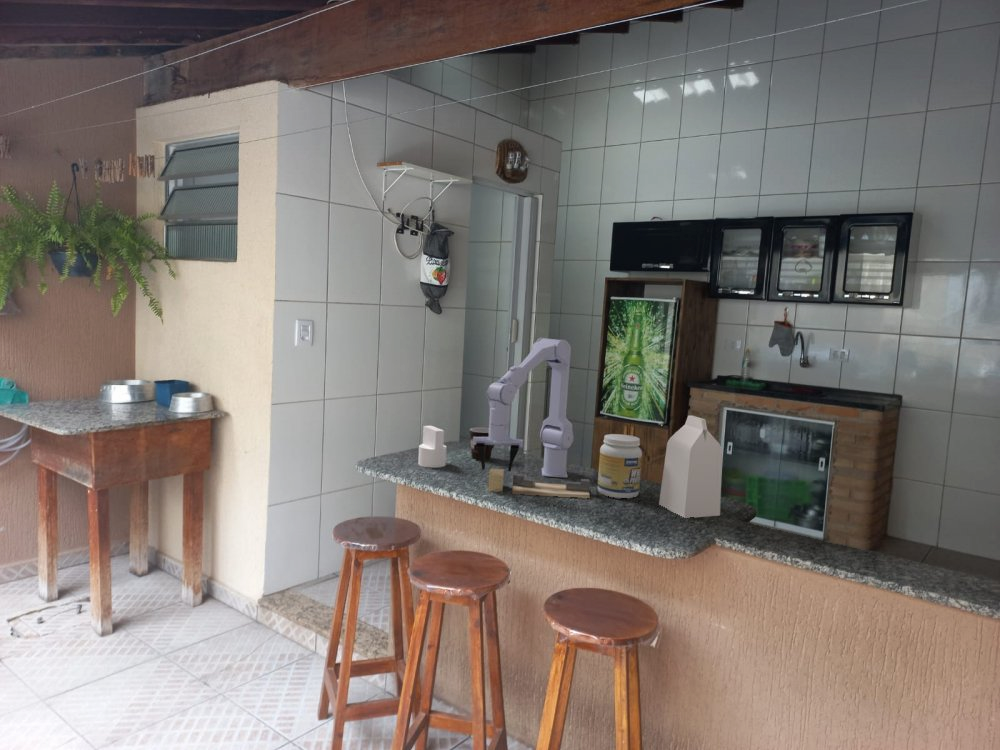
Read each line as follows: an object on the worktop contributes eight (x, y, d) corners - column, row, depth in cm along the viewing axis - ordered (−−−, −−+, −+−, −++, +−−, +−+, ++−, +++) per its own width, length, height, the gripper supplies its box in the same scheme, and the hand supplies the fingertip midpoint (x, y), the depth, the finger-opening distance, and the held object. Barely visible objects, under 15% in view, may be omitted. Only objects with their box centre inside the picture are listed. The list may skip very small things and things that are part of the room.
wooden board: (513, 484, 208) (513, 481, 208) (586, 488, 208) (586, 485, 207) (512, 494, 198) (512, 490, 198) (589, 498, 198) (589, 495, 198)
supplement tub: (629, 502, 196) (633, 443, 194) (590, 494, 202) (594, 437, 200) (645, 493, 206) (649, 437, 204) (607, 485, 213) (610, 431, 211)
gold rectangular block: (488, 491, 200) (489, 474, 200) (489, 485, 207) (490, 468, 206) (502, 492, 200) (503, 475, 199) (502, 485, 207) (503, 469, 206)
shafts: (512, 482, 206) (513, 473, 206) (587, 487, 206) (588, 477, 205) (512, 487, 202) (513, 476, 202) (589, 491, 201) (589, 481, 201)
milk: (658, 504, 195) (666, 413, 192) (693, 502, 199) (700, 413, 196) (684, 518, 184) (692, 422, 181) (719, 515, 188) (728, 421, 185)
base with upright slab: (450, 465, 227) (452, 429, 226) (426, 468, 222) (428, 431, 220) (437, 459, 234) (438, 424, 233) (413, 462, 229) (414, 426, 228)
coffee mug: (467, 455, 243) (469, 427, 242) (492, 455, 244) (493, 427, 243) (469, 463, 231) (471, 434, 230) (495, 464, 232) (497, 434, 231)
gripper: (473, 424, 197) (470, 471, 199) (523, 427, 197) (521, 474, 199) (474, 420, 204) (472, 465, 206) (524, 423, 204) (521, 468, 206)
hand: (496, 469), depth 203 cm, fingers open, 7 cm apart
